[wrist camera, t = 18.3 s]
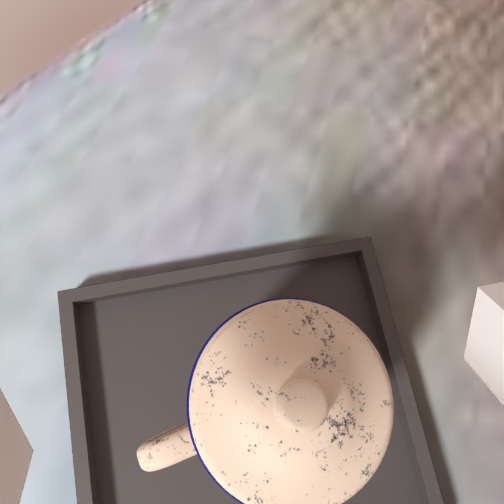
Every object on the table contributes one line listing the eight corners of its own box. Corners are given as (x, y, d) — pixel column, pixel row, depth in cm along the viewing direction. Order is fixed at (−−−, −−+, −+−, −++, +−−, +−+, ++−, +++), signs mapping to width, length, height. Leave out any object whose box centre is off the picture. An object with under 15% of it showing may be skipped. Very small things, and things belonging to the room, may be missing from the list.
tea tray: (361, 244, 32) (370, 236, 30) (438, 528, 27) (453, 538, 25) (67, 296, 29) (57, 291, 27) (98, 616, 25) (89, 634, 23)
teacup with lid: (307, 298, 30) (360, 252, 18) (367, 435, 28) (468, 476, 17) (129, 369, 28) (69, 366, 17) (180, 523, 26) (151, 637, 15)
